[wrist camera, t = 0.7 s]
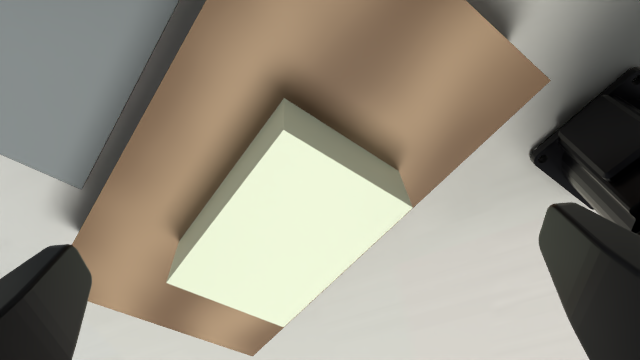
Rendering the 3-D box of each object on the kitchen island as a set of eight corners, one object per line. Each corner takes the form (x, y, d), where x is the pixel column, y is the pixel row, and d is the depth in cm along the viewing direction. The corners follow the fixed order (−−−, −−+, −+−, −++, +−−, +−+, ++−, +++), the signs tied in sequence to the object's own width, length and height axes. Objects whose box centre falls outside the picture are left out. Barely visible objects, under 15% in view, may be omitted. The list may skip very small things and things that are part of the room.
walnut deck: (506, 47, 19) (550, 80, 16) (256, 303, 29) (252, 356, 26) (293, -151, 15) (294, -161, 11) (80, 233, 24) (48, 288, 21)
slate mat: (219, -77, 16) (218, -76, 15) (83, 186, 22) (81, 189, 22) (-138, -355, 11) (-147, -360, 11) (-175, 72, 18) (-182, 75, 18)
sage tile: (398, 171, 18) (412, 207, 16) (283, 286, 22) (283, 327, 20) (284, 97, 16) (283, 129, 14) (178, 241, 20) (166, 282, 18)
